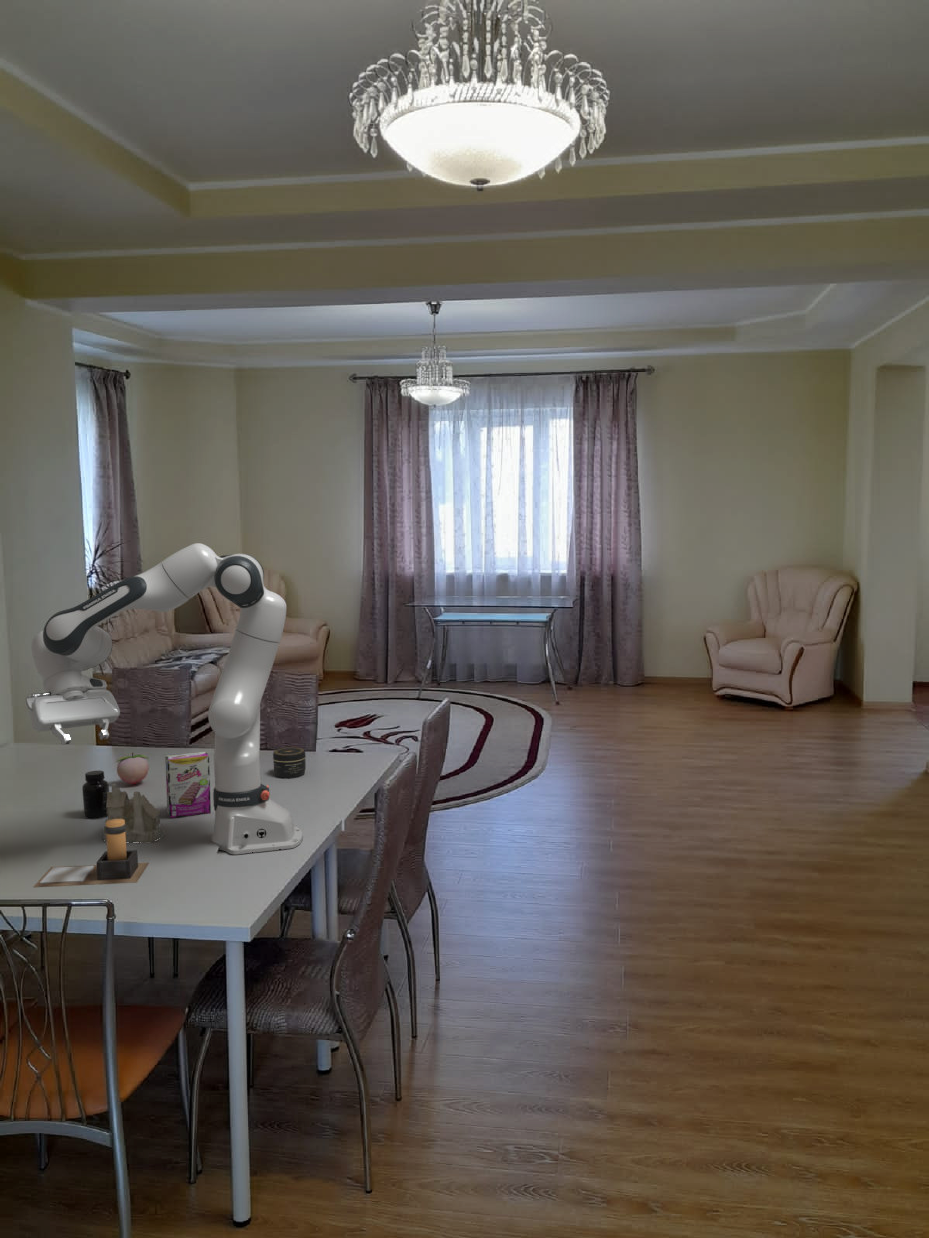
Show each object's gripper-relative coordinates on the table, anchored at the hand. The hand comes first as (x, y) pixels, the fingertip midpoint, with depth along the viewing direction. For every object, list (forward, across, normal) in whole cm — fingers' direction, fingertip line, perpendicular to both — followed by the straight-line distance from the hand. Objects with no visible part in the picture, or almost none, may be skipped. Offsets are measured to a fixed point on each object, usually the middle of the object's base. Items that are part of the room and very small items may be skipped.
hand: (86, 740), depth 225 cm
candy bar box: (+11, +39, +30) cm, 50 cm away
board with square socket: (+29, -3, +13) cm, 32 cm away
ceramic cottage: (+14, +21, +28) cm, 38 cm away
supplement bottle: (-1, +22, +45) cm, 50 cm away
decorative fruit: (-14, +45, +58) cm, 75 cm away
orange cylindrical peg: (+30, +1, +9) cm, 31 cm away
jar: (+3, +81, +35) cm, 88 cm away
